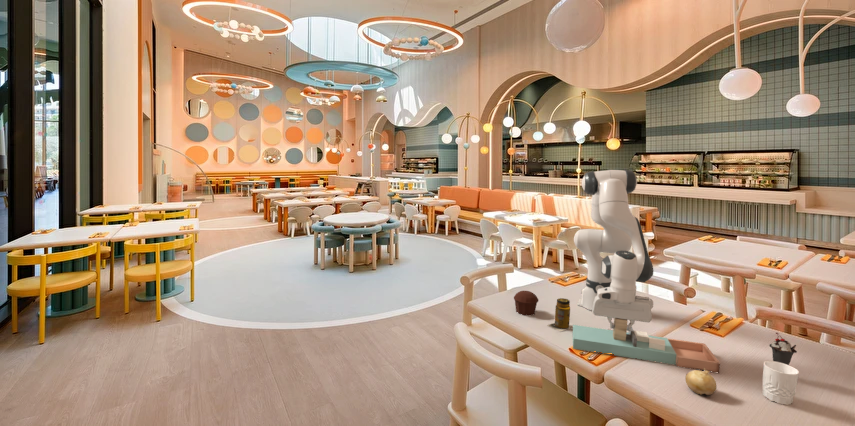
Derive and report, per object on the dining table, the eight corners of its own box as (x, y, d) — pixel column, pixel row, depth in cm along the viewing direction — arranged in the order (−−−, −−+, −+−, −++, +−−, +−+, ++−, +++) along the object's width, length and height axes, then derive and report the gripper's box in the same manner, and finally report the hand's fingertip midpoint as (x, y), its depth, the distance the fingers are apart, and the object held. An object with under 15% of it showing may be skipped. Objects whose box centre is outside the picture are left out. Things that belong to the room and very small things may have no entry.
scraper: (611, 330, 155) (613, 311, 154) (631, 333, 153) (632, 314, 152) (615, 343, 144) (617, 323, 143) (636, 346, 142) (638, 326, 141)
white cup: (758, 388, 123) (762, 358, 122) (791, 396, 119) (796, 365, 117) (761, 400, 117) (765, 368, 115) (797, 409, 112) (801, 377, 111)
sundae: (760, 371, 133) (765, 329, 131) (778, 370, 134) (783, 329, 132) (779, 382, 127) (785, 338, 125) (798, 381, 127) (804, 338, 125)
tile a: (631, 335, 151) (632, 330, 151) (646, 337, 150) (646, 332, 150) (633, 340, 147) (634, 335, 147) (648, 342, 145) (649, 337, 145)
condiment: (573, 327, 168) (575, 301, 167) (560, 332, 163) (562, 304, 162) (559, 321, 174) (560, 296, 173) (546, 326, 169) (548, 299, 168)
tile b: (648, 342, 146) (649, 337, 145) (664, 345, 143) (664, 340, 143) (648, 347, 141) (649, 342, 141) (664, 350, 139) (665, 345, 139)
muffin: (543, 313, 183) (544, 293, 182) (527, 318, 177) (528, 297, 176) (523, 306, 193) (524, 286, 192) (508, 310, 187) (508, 290, 186)
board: (572, 333, 161) (573, 324, 161) (666, 347, 150) (667, 337, 149) (572, 348, 148) (573, 338, 148) (675, 365, 137) (676, 354, 136)
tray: (666, 346, 151) (667, 338, 150) (704, 352, 147) (704, 343, 146) (677, 366, 136) (678, 357, 135) (719, 373, 132) (720, 363, 131)
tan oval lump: (713, 402, 115) (716, 379, 114) (682, 391, 121) (684, 370, 120) (716, 391, 121) (719, 369, 120) (686, 381, 126) (688, 360, 126)
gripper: (652, 295, 146) (649, 330, 148) (593, 288, 153) (591, 322, 155) (655, 300, 140) (652, 336, 142) (594, 293, 147) (591, 328, 149)
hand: (619, 329), depth 148 cm, fingers closed on scraper, 4 cm apart
